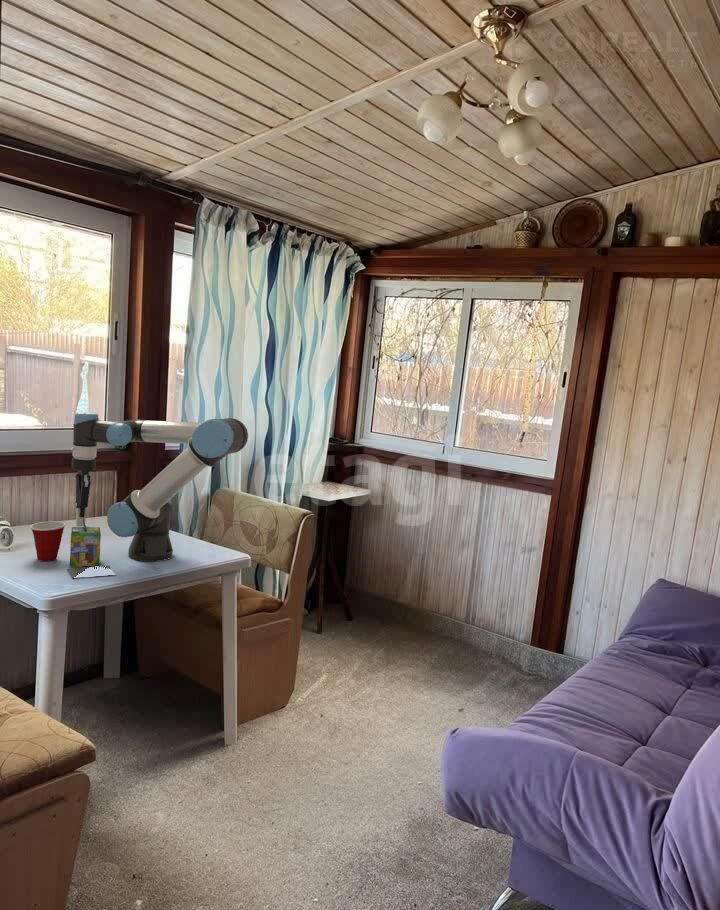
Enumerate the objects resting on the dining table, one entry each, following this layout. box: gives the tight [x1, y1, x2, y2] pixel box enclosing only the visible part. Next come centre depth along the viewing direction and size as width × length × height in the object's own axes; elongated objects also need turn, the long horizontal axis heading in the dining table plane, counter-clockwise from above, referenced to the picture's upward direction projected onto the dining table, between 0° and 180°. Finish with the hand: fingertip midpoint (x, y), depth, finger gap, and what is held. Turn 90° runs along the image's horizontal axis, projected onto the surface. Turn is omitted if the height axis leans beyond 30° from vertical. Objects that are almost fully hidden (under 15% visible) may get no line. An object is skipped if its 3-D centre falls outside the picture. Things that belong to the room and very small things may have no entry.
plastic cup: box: [29, 520, 67, 562], centre depth 227 cm, size 11×11×12 cm
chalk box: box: [69, 519, 102, 568], centre depth 227 cm, size 9×9×15 cm
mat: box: [66, 565, 111, 579], centre depth 219 cm, size 13×10×1 cm
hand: (80, 525), depth 234 cm, fingers closed
